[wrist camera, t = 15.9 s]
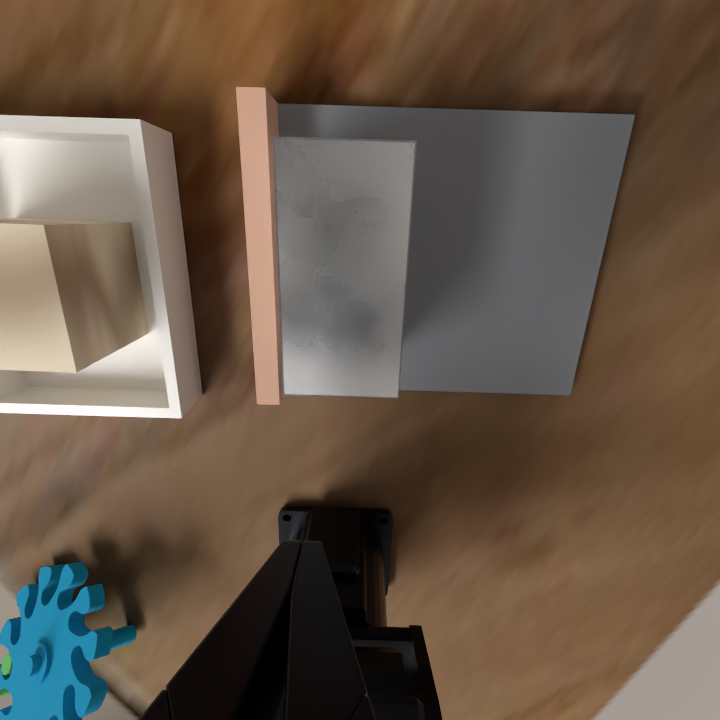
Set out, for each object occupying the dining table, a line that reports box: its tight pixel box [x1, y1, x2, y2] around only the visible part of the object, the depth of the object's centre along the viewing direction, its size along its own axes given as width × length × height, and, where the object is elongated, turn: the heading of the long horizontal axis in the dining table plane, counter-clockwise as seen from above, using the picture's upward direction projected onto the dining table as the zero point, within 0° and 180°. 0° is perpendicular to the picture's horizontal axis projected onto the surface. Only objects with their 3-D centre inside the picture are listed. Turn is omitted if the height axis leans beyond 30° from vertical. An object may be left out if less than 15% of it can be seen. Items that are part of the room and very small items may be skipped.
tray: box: [0, 115, 203, 418], centre depth 17 cm, size 12×9×2 cm
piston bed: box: [236, 87, 635, 405], centre depth 17 cm, size 12×15×3 cm
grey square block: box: [273, 136, 417, 399], centre depth 15 cm, size 8×4×5 cm, turn 178°
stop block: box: [0, 218, 148, 373], centre depth 16 cm, size 5×5×5 cm
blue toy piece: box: [0, 562, 136, 720], centre depth 24 cm, size 11×6×10 cm
